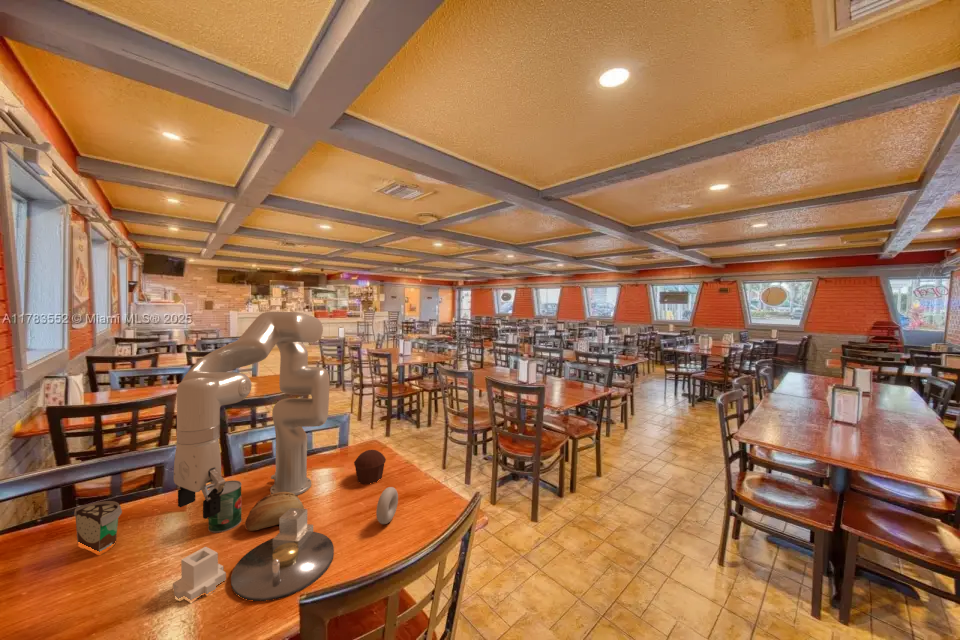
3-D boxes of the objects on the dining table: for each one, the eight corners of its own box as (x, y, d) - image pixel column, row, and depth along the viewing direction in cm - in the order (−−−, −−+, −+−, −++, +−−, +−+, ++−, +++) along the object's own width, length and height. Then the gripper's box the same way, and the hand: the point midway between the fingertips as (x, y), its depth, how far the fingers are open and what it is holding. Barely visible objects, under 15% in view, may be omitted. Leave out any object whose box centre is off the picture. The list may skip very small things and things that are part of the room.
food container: (133, 542, 94) (133, 505, 93) (102, 557, 88) (101, 518, 87) (105, 531, 98) (105, 496, 97) (74, 545, 92) (73, 508, 92)
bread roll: (243, 523, 103) (243, 497, 102) (300, 506, 112) (300, 482, 112) (246, 541, 95) (246, 512, 95) (306, 522, 104) (306, 495, 104)
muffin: (379, 487, 125) (380, 459, 125) (348, 486, 125) (349, 458, 125) (389, 471, 137) (389, 446, 136) (360, 470, 137) (361, 445, 137)
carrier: (209, 580, 81) (209, 542, 81) (294, 527, 101) (294, 496, 101) (272, 616, 72) (272, 574, 72) (352, 550, 92) (352, 517, 92)
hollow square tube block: (165, 593, 77) (165, 562, 77) (210, 566, 85) (210, 538, 85) (188, 608, 74) (187, 576, 74) (232, 579, 82) (232, 550, 82)
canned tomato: (247, 520, 104) (247, 484, 104) (218, 536, 97) (218, 497, 96) (231, 513, 107) (231, 478, 107) (202, 527, 100) (201, 490, 100)
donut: (384, 532, 100) (385, 498, 99) (373, 531, 100) (374, 496, 100) (399, 512, 110) (400, 481, 109) (389, 511, 110) (389, 480, 110)
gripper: (157, 433, 79) (157, 508, 79) (202, 447, 71) (202, 529, 72) (196, 423, 85) (196, 492, 86) (240, 435, 78) (240, 511, 79)
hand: (199, 509), depth 79 cm, fingers open, 9 cm apart
